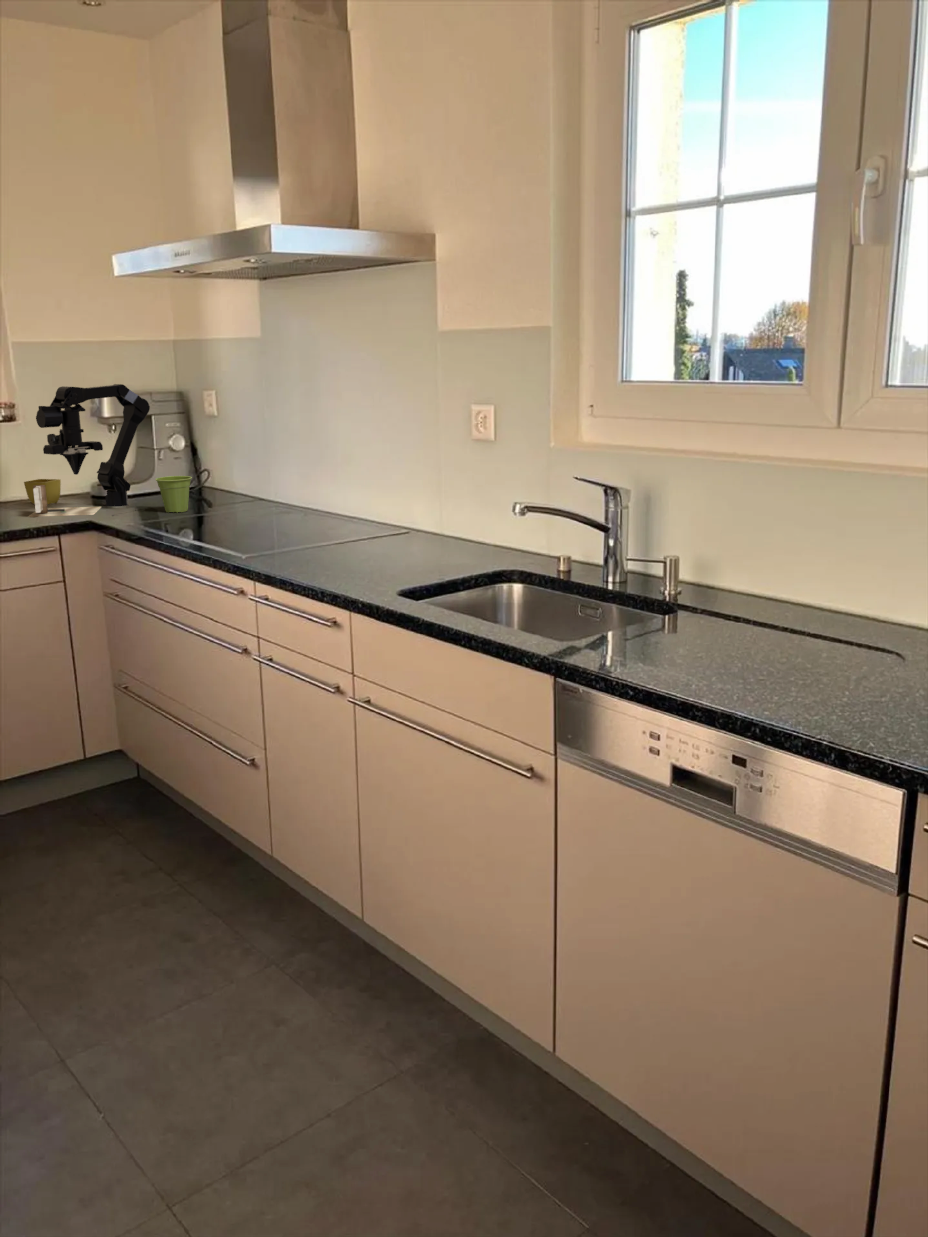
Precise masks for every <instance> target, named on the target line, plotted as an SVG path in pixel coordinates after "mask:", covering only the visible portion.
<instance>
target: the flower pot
mask: <svg viewBox="0 0 928 1237" xmlns="http://www.w3.org/2000/svg"><path fill="white" fill-rule="evenodd" d="M23 484H24V488H25V491H26V496H27V497H28V499H29V501H30V503H31V504H33V505H35V500H34V491H33V486H35V485H45V488H46V498H47V505H49V504H57V503H58V502H59V500H60V496H61V487H62V486H61V485H62V483H61V479H59V478H58V479H56V478H54V479H53V478H50V479H49V478H37V479H33V480H28V481H23Z"/></svg>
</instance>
